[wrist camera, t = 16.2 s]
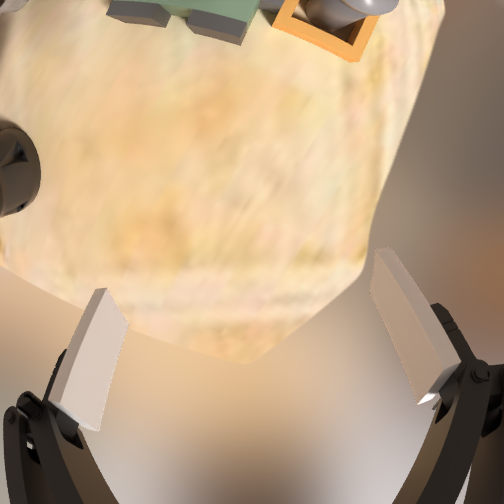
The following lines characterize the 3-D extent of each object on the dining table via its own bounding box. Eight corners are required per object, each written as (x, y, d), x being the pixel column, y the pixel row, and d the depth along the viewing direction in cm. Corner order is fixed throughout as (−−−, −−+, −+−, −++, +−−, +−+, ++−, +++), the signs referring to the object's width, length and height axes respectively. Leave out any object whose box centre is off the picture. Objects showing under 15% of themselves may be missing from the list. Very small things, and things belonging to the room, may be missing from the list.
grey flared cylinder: (295, 20, 24) (323, -10, 14) (312, -15, 21) (345, -52, 10) (340, 41, 26) (388, 26, 15) (356, 7, 23) (406, -16, 12)
